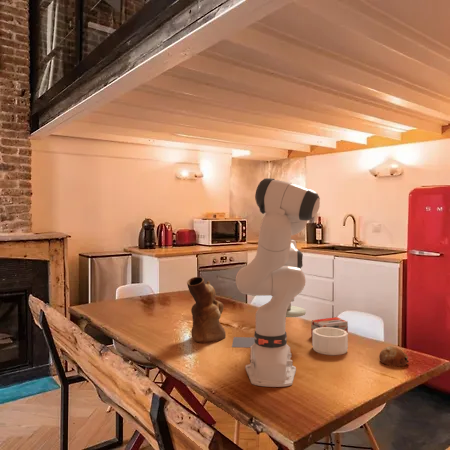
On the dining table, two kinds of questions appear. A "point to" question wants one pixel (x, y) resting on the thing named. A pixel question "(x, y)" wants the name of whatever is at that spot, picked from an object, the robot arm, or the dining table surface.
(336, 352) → the bowl
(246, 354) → the dining table surface
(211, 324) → the ceramic vessel
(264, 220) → the robot arm
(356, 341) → the dining table surface
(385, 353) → the brown rounded lump
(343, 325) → the medicine box
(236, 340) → the mat
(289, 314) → the lid
